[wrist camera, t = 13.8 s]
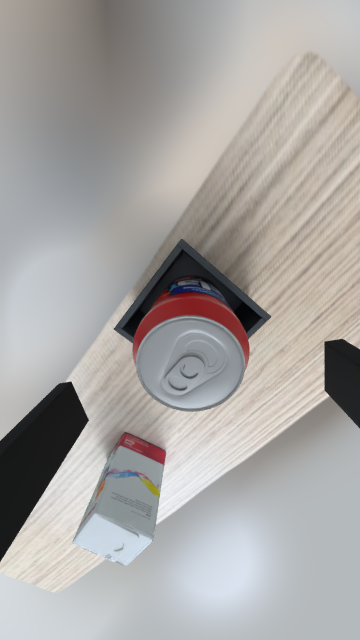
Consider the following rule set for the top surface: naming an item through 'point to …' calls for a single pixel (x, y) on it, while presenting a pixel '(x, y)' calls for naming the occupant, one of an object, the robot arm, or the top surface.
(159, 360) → the soda can
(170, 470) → the top surface
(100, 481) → the ink box
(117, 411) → the top surface
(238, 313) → the open top storage bin
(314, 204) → the top surface
